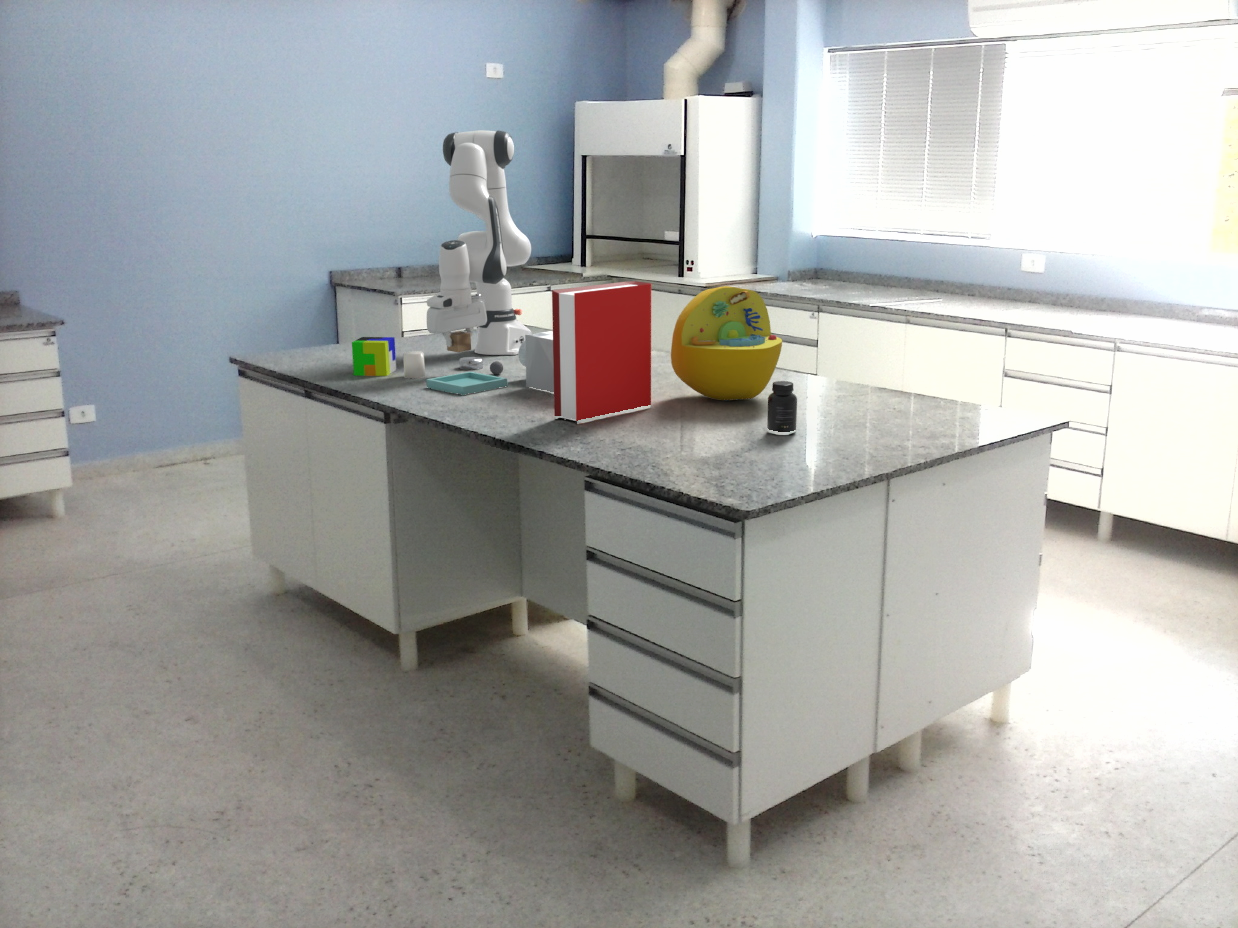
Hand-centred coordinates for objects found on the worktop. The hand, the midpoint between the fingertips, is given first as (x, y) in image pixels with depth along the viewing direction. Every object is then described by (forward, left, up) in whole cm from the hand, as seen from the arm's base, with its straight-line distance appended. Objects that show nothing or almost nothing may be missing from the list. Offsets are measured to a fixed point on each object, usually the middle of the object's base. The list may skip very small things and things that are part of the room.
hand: (458, 344), depth 346 cm
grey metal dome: (-9, -6, -9) cm, 14 cm away
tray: (+11, +16, -9) cm, 21 cm away
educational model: (-24, +81, -9) cm, 85 cm away
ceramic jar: (+11, -8, -9) cm, 16 cm away
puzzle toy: (+15, -22, -9) cm, 28 cm away
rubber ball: (-7, +8, -7) cm, 13 cm away
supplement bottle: (-4, +113, -9) cm, 114 cm away
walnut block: (0, 0, -2) cm, 2 cm away
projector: (-9, +37, -9) cm, 39 cm away
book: (+9, +68, -9) cm, 69 cm away
